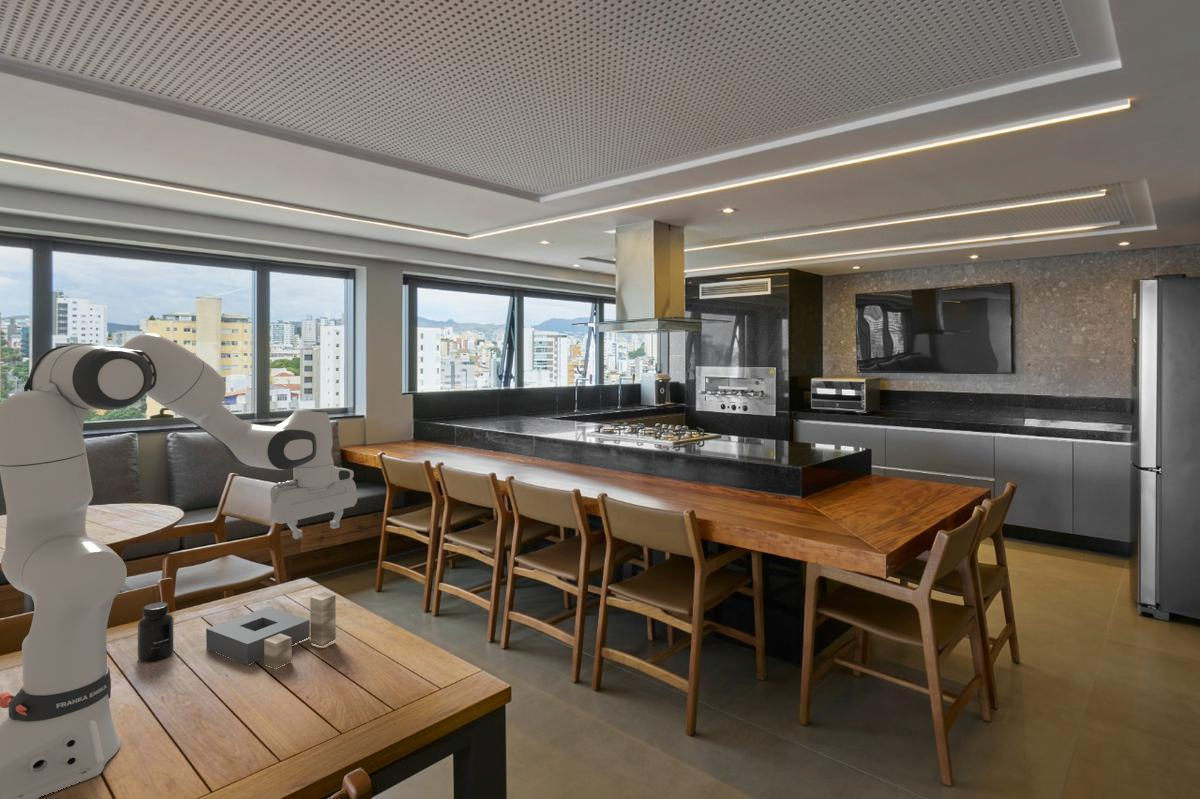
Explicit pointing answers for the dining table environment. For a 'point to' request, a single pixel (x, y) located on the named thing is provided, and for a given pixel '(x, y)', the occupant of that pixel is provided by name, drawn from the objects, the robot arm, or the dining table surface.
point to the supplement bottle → (155, 633)
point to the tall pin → (323, 618)
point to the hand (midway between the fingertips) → (316, 532)
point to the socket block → (254, 633)
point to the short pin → (277, 650)
